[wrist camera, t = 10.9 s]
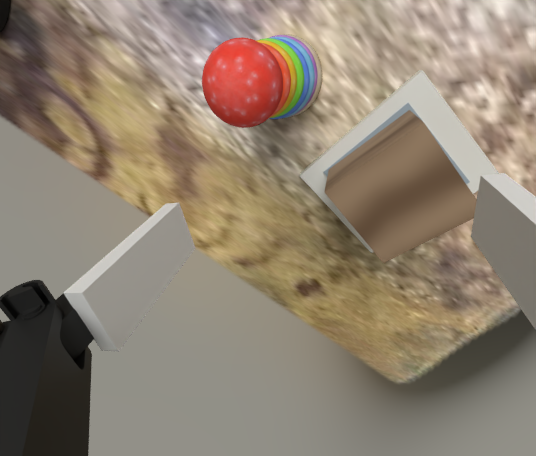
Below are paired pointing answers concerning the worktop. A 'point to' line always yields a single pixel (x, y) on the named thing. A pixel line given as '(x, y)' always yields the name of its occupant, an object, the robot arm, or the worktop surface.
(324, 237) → the worktop surface
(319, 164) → the baseplate
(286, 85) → the stacking toy
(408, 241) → the walnut block
